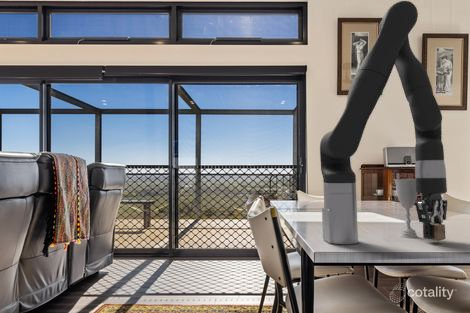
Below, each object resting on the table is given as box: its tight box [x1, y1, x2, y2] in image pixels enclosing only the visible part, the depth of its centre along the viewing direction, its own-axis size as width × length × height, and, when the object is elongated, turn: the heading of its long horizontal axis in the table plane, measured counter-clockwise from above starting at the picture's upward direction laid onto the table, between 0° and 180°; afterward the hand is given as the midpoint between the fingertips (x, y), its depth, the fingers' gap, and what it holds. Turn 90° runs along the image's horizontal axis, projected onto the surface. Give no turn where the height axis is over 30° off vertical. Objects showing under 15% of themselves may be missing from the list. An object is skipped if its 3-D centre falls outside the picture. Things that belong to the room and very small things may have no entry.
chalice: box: [394, 178, 419, 239], centre depth 98 cm, size 7×7×18 cm
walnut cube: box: [422, 223, 447, 242], centre depth 88 cm, size 4×4×4 cm
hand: (433, 236), depth 88 cm, fingers open, 4 cm apart
